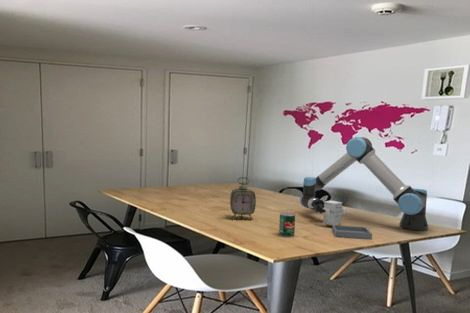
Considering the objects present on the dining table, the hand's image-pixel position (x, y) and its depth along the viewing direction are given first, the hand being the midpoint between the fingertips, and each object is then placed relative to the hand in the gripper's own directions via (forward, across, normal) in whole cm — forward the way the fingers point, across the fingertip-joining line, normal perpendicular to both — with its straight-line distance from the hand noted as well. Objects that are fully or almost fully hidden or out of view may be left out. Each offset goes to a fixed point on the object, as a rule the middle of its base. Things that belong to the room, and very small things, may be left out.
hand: (337, 212), depth 228 cm
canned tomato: (+8, +34, -10) cm, 37 cm away
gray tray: (+13, 0, -10) cm, 16 cm away
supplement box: (-4, 0, -8) cm, 9 cm away
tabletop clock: (-32, +45, -9) cm, 56 cm away
